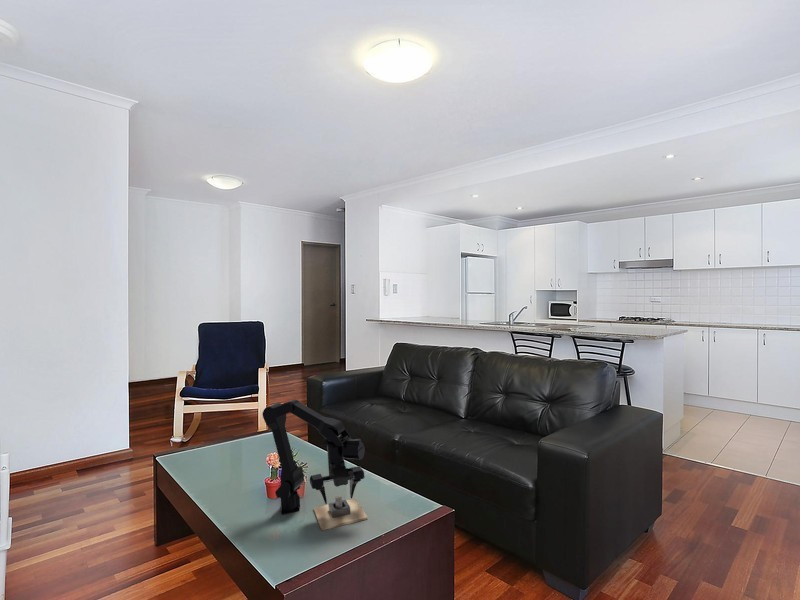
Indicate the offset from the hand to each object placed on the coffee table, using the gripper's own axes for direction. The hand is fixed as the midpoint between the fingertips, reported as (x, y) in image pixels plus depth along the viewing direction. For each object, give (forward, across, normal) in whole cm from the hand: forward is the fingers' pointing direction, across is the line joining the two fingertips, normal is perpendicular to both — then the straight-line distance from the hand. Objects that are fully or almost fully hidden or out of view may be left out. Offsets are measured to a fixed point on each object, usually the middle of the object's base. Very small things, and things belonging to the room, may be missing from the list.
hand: (338, 500), depth 160 cm
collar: (+4, 0, 0) cm, 4 cm away
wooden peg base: (+5, 0, 0) cm, 5 cm away
